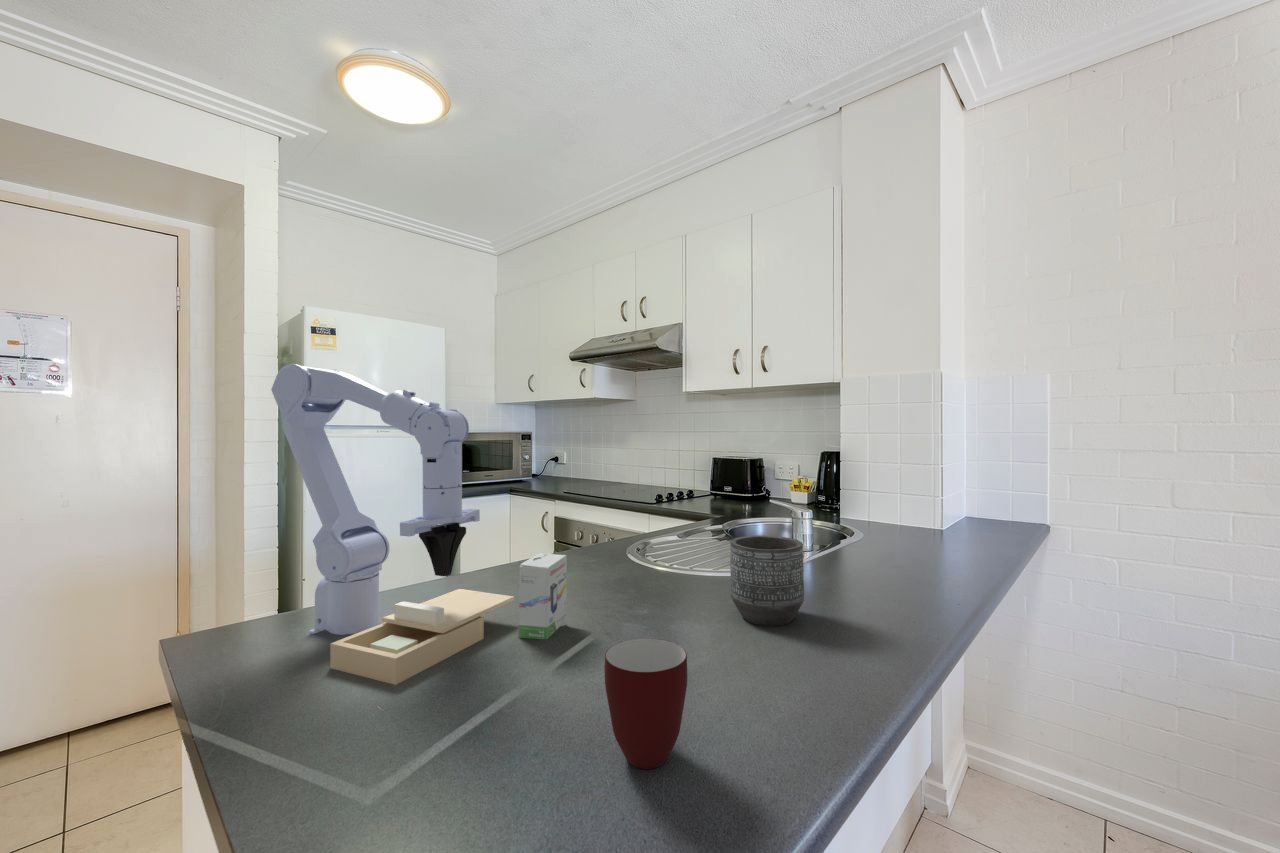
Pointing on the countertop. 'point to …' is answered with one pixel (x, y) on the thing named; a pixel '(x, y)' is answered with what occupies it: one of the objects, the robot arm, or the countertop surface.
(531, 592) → the ink box
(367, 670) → the tray
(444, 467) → the robot arm
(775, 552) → the planter
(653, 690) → the mug
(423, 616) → the mailer lid
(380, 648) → the soap bar
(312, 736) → the countertop surface
